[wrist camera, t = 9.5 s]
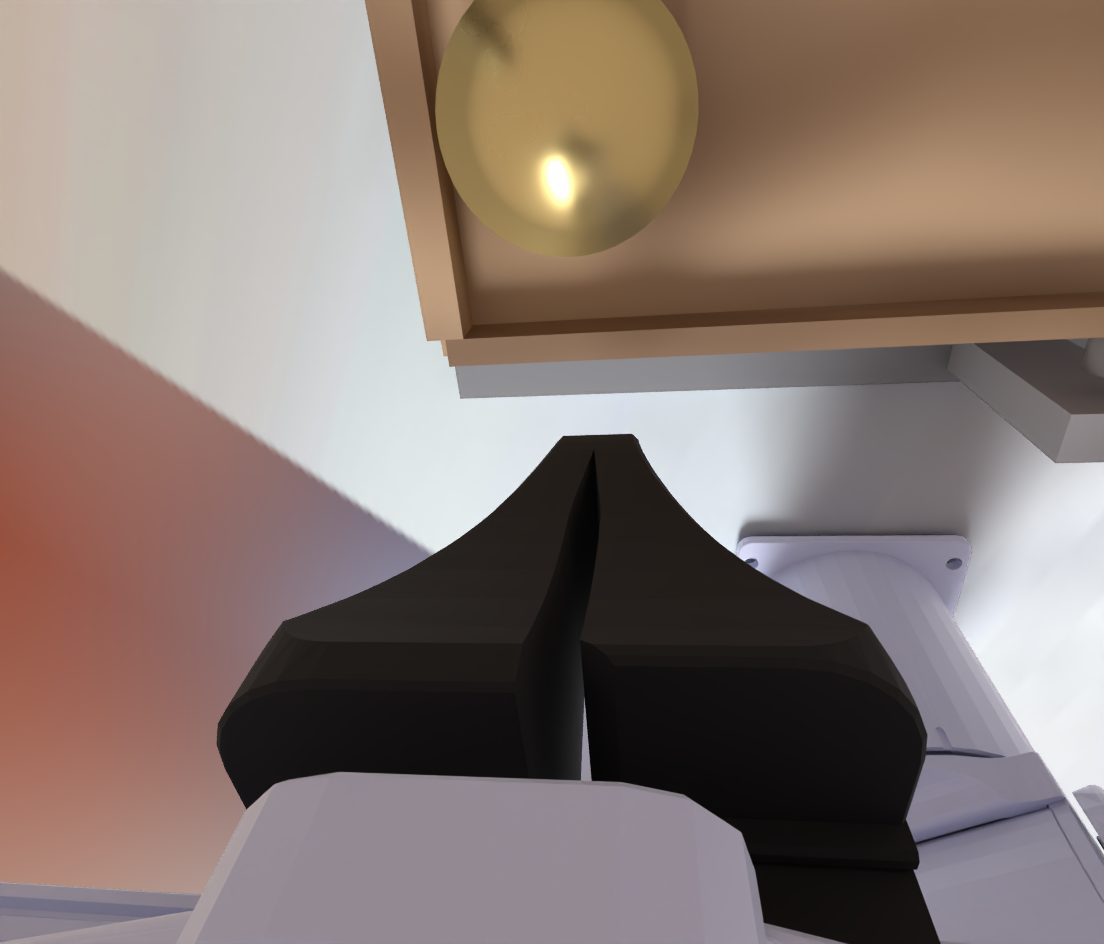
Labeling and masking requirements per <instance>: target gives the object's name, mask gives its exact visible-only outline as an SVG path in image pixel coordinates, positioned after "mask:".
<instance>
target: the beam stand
mask: <svg viewBox="0 0 1104 944" xmlns="http://www.w3.org/2000/svg"><path fill="white" fill-rule="evenodd" d="M1088 339H1089V338H1078V339H1055V340H1033V341H1011V342H988V343H966V344H944V345H921V346H899V347H877V348H854V349H832V350H810V351H787V352H765V353H743V354H720V355H698V356H675V357H653V358H631V359H608V360H586V361H564V362H541V363H519V364H497V365H474V366H455V369H456V375H457V381H458V387H459V393H460V399H462V398H491V397H520V396H548V395H577V394H606V393H635V392H663V391H692V390H721V389H749V388H778V387H807V386H835V385H864V384H893V383H921V382H950V381H961V382H962V383H964V384H965V385H966V386H967V387H968V388H969V389H970V390H972V391H973V392H974V393H975V394H976V395H977V396H979V397H980V398H981V399H982V400H983V401H984V402H985V403H987V404H988V405H989V406H990V407H991V408H992V409H994V410H995V411H996V412H997V413H998V414H999V415H1000V416H1002V417H1003V418H1004V419H1005V420H1006V421H1007V422H1009V423H1010V424H1011V425H1012V426H1013V427H1014V428H1015V429H1017V430H1018V431H1019V432H1020V433H1021V434H1022V435H1024V436H1025V437H1026V438H1027V439H1028V440H1029V441H1031V442H1032V443H1033V444H1034V445H1035V446H1036V447H1037V448H1039V449H1040V450H1041V451H1042V452H1043V453H1044V454H1046V455H1047V456H1048V457H1049V458H1050V459H1051V460H1052V461H1054V462H1055V463H1085V462H1104V377H1099V376H1095V375H1092V374H1089V373H1087V372H1085V371H1083V370H1081V369H1080V363H1081V360H1082V357H1083V354H1084V351H1085V348H1086V345H1087V342H1088Z"/></svg>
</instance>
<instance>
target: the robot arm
mask: <svg viewBox="0 0 1104 944" xmlns="http://www.w3.org/2000/svg"><path fill="white" fill-rule="evenodd" d="M971 553H972V547H971V545H970V543H969V542H968V541H967V539H966V538H964V537H962V536H958V535H912V536H751V537H746V538H744V539H742V540H741V541H740V542H739V543H738V545H737V552H736V555H735V554H733V553H732V552H730V551H729V550H727V549H726V548H725V547H724V546H722V545H721V544H720V543H718V542H717V541H716V540H715V539H714V538H713V537H711V536H710V535H709V534H708V533H707V532H706V531H705V530H704V529H703V528H702V527H701V526H700V525H699V524H698V523H696V521H695V520H694V519H693V518H692V517H691V516H690V515H689V514H688V513H687V512H686V511H685V510H684V509H683V507H682V506H681V505H680V504H679V503H678V502H677V501H676V499H675V498H674V497H673V496H672V494H671V493H670V492H669V491H668V489H667V488H666V487H665V485H664V484H663V483H662V481H661V480H660V478H659V477H658V476H657V474H656V473H655V471H654V470H653V468H652V467H651V465H650V463H649V462H648V460H647V458H646V457H645V455H644V453H643V451H642V449H641V447H640V444H639V441H638V439H637V438H636V437H635V436H634V435H633V434H613V435H581V436H563V437H562V438H561V439H560V440H559V441H558V442H557V443H556V444H555V446H554V447H553V448H552V449H551V451H550V452H549V453H548V454H547V455H546V457H545V458H544V459H543V460H542V461H541V463H540V464H539V465H538V466H537V467H536V469H535V470H534V471H533V472H532V473H531V474H530V475H529V476H528V477H527V478H526V480H525V481H524V482H523V483H522V484H521V485H520V486H519V487H518V488H517V489H516V490H515V491H514V492H513V493H512V494H511V495H510V496H509V497H508V498H507V499H506V500H505V501H504V502H503V503H502V504H501V505H500V506H499V507H498V508H497V509H496V510H495V511H494V512H492V513H491V514H490V515H489V516H488V517H486V518H485V519H484V520H483V521H481V522H480V523H479V524H478V525H476V526H475V527H474V528H472V529H471V530H470V531H468V532H467V533H466V534H464V535H463V536H461V537H460V538H459V539H457V540H456V541H454V542H453V543H451V544H450V545H448V546H447V547H445V548H443V549H442V550H440V551H438V552H437V553H435V554H433V555H432V556H430V557H428V558H427V559H425V560H423V561H422V562H420V563H419V564H417V565H415V566H414V567H412V568H410V569H408V570H406V571H404V572H402V573H400V574H398V575H397V576H394V577H392V578H390V579H388V580H386V581H385V582H382V583H380V584H378V585H376V586H373V587H372V588H369V589H367V590H365V591H363V592H360V593H358V594H356V595H353V596H351V597H349V598H346V599H344V600H341V601H338V602H335V603H333V604H330V605H328V606H325V607H322V608H319V609H317V610H314V611H311V612H309V613H306V614H303V615H301V616H298V617H295V618H292V619H289V620H286V621H283V622H282V624H281V625H280V627H279V628H278V629H277V631H276V632H275V634H274V635H273V636H272V638H271V639H270V641H269V642H268V644H267V645H266V646H265V648H264V650H263V651H262V653H261V654H260V656H259V657H258V659H257V661H256V662H255V664H254V665H253V667H252V668H251V670H250V672H249V673H248V675H247V676H246V678H245V680H244V681H243V683H242V684H241V686H240V688H239V689H238V691H237V693H236V694H235V696H234V697H233V699H232V700H231V702H230V704H229V705H228V707H227V709H226V710H225V712H224V714H223V716H222V717H221V719H220V721H219V723H218V730H217V747H218V750H219V753H220V756H221V759H222V762H223V764H224V767H225V769H226V772H227V773H228V775H229V777H230V779H231V781H232V783H233V785H234V787H235V789H236V790H237V792H238V794H239V796H240V798H241V800H242V802H243V804H244V805H245V807H246V809H247V810H246V811H245V813H244V815H243V817H242V818H241V820H240V822H239V824H238V826H237V828H236V830H235V832H234V834H233V836H232V838H231V840H230V841H229V843H228V845H227V847H226V849H225V851H224V853H223V855H222V857H221V859H220V860H219V862H218V864H217V866H216V868H215V870H214V872H213V874H212V876H211V878H210V880H209V882H208V883H207V885H206V887H205V889H204V891H203V893H202V895H201V894H186V893H170V892H153V891H137V890H121V889H105V888H90V887H74V886H58V885H41V884H25V883H10V882H0V944H1104V855H1103V853H1102V851H1101V850H1100V848H1099V847H1098V845H1097V843H1096V842H1095V840H1094V839H1093V837H1092V836H1091V834H1090V832H1089V831H1088V829H1087V828H1086V826H1085V825H1084V823H1083V822H1082V820H1081V819H1080V817H1079V816H1078V814H1077V812H1076V811H1075V809H1074V808H1073V806H1072V805H1071V803H1070V802H1069V800H1068V799H1067V797H1066V796H1065V794H1064V792H1063V791H1062V789H1061V788H1060V786H1059V785H1058V783H1057V782H1056V780H1055V779H1054V777H1053V776H1052V774H1051V772H1050V771H1049V769H1048V768H1047V766H1046V765H1045V763H1044V762H1043V760H1042V759H1041V757H1040V756H1039V754H1038V753H1036V752H1035V751H1034V749H1033V748H1032V746H1031V745H1030V743H1029V741H1028V740H1027V738H1026V736H1025V735H1024V733H1023V732H1022V730H1021V728H1020V727H1019V725H1018V723H1017V722H1016V720H1015V718H1014V717H1013V715H1012V714H1011V712H1010V710H1009V709H1008V707H1007V705H1006V704H1005V702H1004V701H1003V699H1002V697H1001V696H1000V694H999V692H998V691H997V689H996V688H995V686H994V684H993V683H992V681H991V679H990V678H989V676H988V674H987V673H986V671H985V670H984V668H983V666H982V665H981V663H980V661H979V660H978V658H977V657H976V655H975V653H974V652H973V650H972V648H971V647H970V645H969V644H968V642H967V640H966V639H965V637H964V635H963V634H962V632H961V631H960V629H959V627H958V626H957V624H956V622H955V621H954V619H953V616H954V613H955V609H956V606H957V602H958V599H959V595H960V592H961V588H962V585H963V581H964V578H965V574H966V571H967V567H968V564H969V560H970V557H971ZM750 558H754V559H756V560H755V561H754V562H752V563H746V562H745V561H746V560H747V559H750ZM953 558H957V559H956V560H955V561H953V562H951V563H947V562H948V561H949V560H950V559H953ZM584 697H585V708H586V719H587V729H588V742H589V754H590V766H591V778H592V781H581V761H582V736H583V713H584ZM1072 793H1073V795H1074V797H1075V798H1076V800H1077V801H1078V803H1079V805H1080V806H1081V808H1082V809H1083V811H1084V813H1085V814H1086V816H1087V817H1088V819H1089V821H1090V822H1091V824H1092V825H1093V827H1094V829H1095V830H1096V832H1097V833H1098V835H1099V836H1097V839H1098V841H1099V843H1100V844H1101V846H1102V848H1103V849H1104V790H1103V789H1102V788H1101V787H1099V786H1096V785H1089V786H1087V787H1084V788H1082V789H1079V790H1077V791H1074V792H1072Z"/></svg>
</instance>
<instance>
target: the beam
mask: <svg viewBox="0 0 1104 944" xmlns="http://www.w3.org/2000/svg"><path fill="white" fill-rule="evenodd" d="M473 1H474V0H365V4H366V9H367V15H368V20H369V26H370V31H371V37H372V42H373V48H374V53H375V59H376V64H377V70H378V75H379V81H380V86H381V91H382V97H383V102H384V108H385V113H386V119H387V124H388V130H389V135H390V141H391V146H392V152H393V157H394V163H395V168H396V174H397V179H398V185H399V190H400V196H401V201H402V207H403V212H404V218H405V223H406V229H407V234H408V240H409V245H410V250H411V256H412V261H413V267H414V272H415V278H416V283H417V289H418V294H419V300H420V305H421V311H422V316H423V322H424V327H425V333H426V338H427V341H435V340H441V344H442V349H443V355H444V356H448V360H449V366H450V367H452V366H474V365H497V364H519V363H541V362H564V361H586V360H608V359H631V358H653V357H675V356H698V355H720V354H743V353H765V352H787V351H810V350H832V349H854V348H877V347H899V346H921V345H944V344H966V343H988V342H1011V341H1033V340H1055V339H1078V338H1089V339H1088V342H1087V345H1086V348H1085V351H1084V354H1083V357H1082V360H1081V363H1080V369H1081V370H1083V371H1085V372H1087V373H1089V374H1092V375H1095V376H1099V377H1104V0H661V1H662V2H663V3H664V5H665V6H666V7H667V9H668V10H669V11H670V13H671V14H672V15H673V17H674V19H675V21H676V22H677V24H678V26H679V28H680V29H681V31H682V33H683V35H684V38H685V40H686V43H687V45H688V48H689V50H690V53H691V57H692V61H693V64H694V68H695V72H696V79H697V87H698V109H699V113H698V123H697V133H696V137H695V142H694V146H693V151H692V154H691V157H690V160H689V163H688V166H687V169H686V171H685V173H684V175H683V177H682V179H681V181H680V183H679V186H678V187H677V189H676V191H675V192H674V194H673V195H672V197H671V198H670V200H669V202H668V203H667V204H666V205H665V207H664V208H663V209H662V210H661V211H660V213H659V214H658V215H657V216H656V217H655V218H654V219H653V220H652V221H651V222H650V223H649V224H648V225H647V226H646V227H645V228H643V229H642V230H641V231H639V232H638V233H637V234H635V235H634V236H633V237H631V238H629V239H628V240H626V241H624V242H622V243H620V244H619V245H617V246H615V247H612V248H609V249H607V250H604V251H602V252H598V253H594V254H590V255H586V256H577V257H553V256H547V255H541V254H537V253H534V252H531V251H527V250H524V249H522V248H520V247H518V246H515V245H513V244H511V243H509V242H508V241H506V240H504V239H503V238H501V237H500V236H498V235H496V234H495V233H494V232H493V231H491V230H490V229H489V228H488V227H487V226H485V225H484V224H483V223H482V222H481V221H480V220H479V219H478V218H477V217H476V216H475V215H474V214H473V212H472V211H471V210H470V209H469V207H468V206H467V205H466V203H465V202H464V201H463V199H462V198H461V196H460V194H459V193H458V191H457V189H456V188H455V186H454V184H453V182H452V180H451V178H450V175H449V173H448V171H447V168H446V166H445V163H444V160H443V156H442V153H441V150H440V145H439V140H438V135H437V128H436V114H435V104H436V88H437V82H438V75H439V70H440V67H441V63H442V59H443V56H444V52H445V50H446V47H447V45H448V43H449V40H450V38H451V35H452V33H453V31H454V30H455V28H456V26H457V24H458V23H459V21H460V19H461V17H462V16H463V15H464V13H465V12H466V11H467V9H468V8H469V7H470V5H471V4H472V3H473Z"/></svg>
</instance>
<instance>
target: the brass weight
mask: <svg viewBox="0 0 1104 944" xmlns="http://www.w3.org/2000/svg"><path fill="white" fill-rule="evenodd" d="M698 113H699V109H698V87H697V79H696V72H695V68H694V64H693V61H692V57H691V53H690V50H689V48H688V45H687V43H686V40H685V38H684V35H683V33H682V31H681V29H680V28H679V26H678V24H677V22H676V21H675V19H674V17H673V15H672V14H671V13H670V11H669V10H668V9H667V7H666V6H665V5H664V3H663V2H662V1H661V0H474V1H473V3H472V4H471V5H470V7H469V8H468V9H467V11H466V12H465V13H464V15H463V16H462V17H461V19H460V21H459V23H458V24H457V26H456V28H455V30H454V31H453V33H452V35H451V38H450V40H449V43H448V45H447V47H446V50H445V52H444V56H443V59H442V63H441V67H440V70H439V75H438V82H437V88H436V104H435V114H436V128H437V135H438V140H439V145H440V150H441V153H442V156H443V160H444V163H445V166H446V168H447V171H448V173H449V175H450V178H451V180H452V182H453V184H454V186H455V188H456V189H457V191H458V193H459V194H460V196H461V198H462V199H463V201H464V202H465V203H466V205H467V206H468V207H469V209H470V210H471V211H472V212H473V214H474V215H475V216H476V217H477V218H478V219H479V220H480V221H481V222H482V223H483V224H484V225H485V226H487V227H488V228H489V229H490V230H491V231H493V232H494V233H495V234H496V235H498V236H500V237H501V238H503V239H504V240H506V241H508V242H509V243H511V244H513V245H515V246H518V247H520V248H522V249H524V250H527V251H531V252H534V253H537V254H541V255H547V256H553V257H577V256H586V255H590V254H594V253H598V252H602V251H604V250H607V249H609V248H612V247H615V246H617V245H619V244H620V243H622V242H624V241H626V240H628V239H629V238H631V237H633V236H634V235H635V234H637V233H638V232H639V231H641V230H642V229H643V228H645V227H646V226H647V225H648V224H649V223H650V222H651V221H652V220H653V219H654V218H655V217H656V216H657V215H658V214H659V213H660V211H661V210H662V209H663V208H664V207H665V205H666V204H667V203H668V202H669V200H670V198H671V197H672V195H673V194H674V192H675V191H676V189H677V187H678V186H679V183H680V181H681V179H682V177H683V175H684V173H685V171H686V169H687V166H688V163H689V160H690V157H691V154H692V151H693V146H694V142H695V137H696V133H697V123H698Z"/></svg>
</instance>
